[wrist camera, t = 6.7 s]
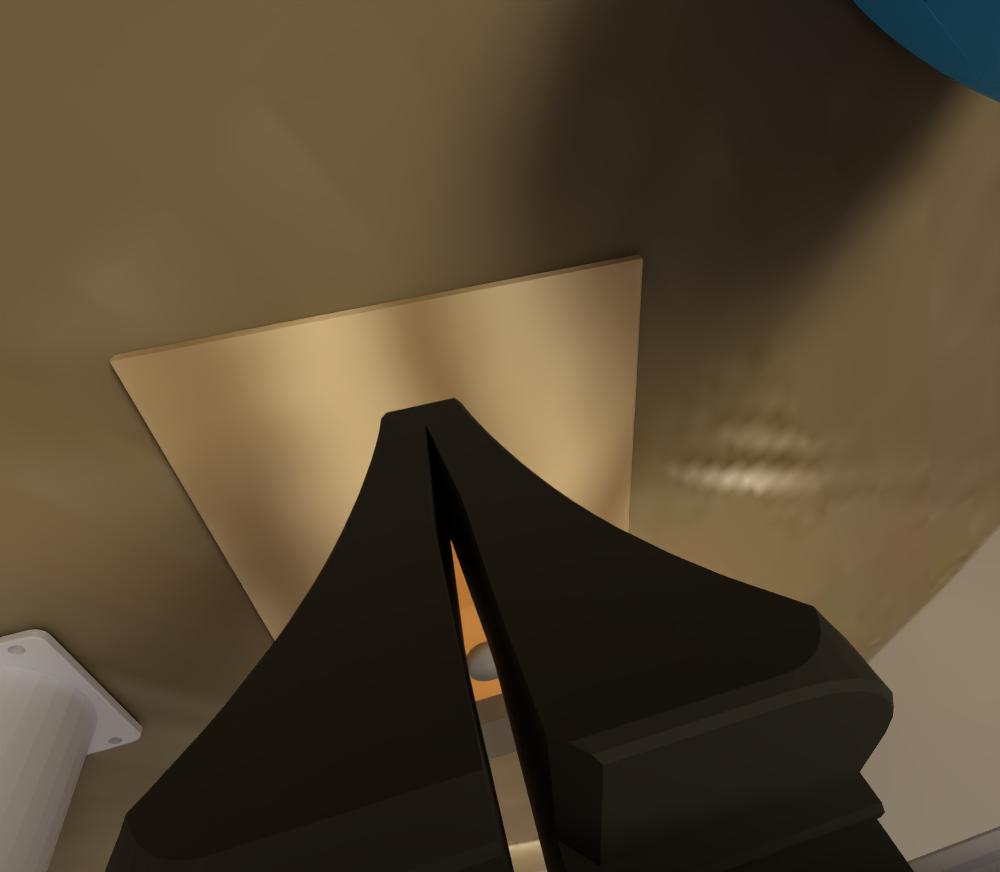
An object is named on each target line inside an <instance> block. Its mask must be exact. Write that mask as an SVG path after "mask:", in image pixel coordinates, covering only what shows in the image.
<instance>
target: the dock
mask: <svg viewBox="0 0 1000 872" xmlns="http://www.w3.org/2000/svg"><path fill="white" fill-rule="evenodd" d="M642 268H643V258H642V257H640V256H639V255H638V254H637V255H632V256H627V257H622V258H616V259H611V260H606V261H601V262H596V263H590V264H585V265H580V266H575V267H570V268H564V269H559V270H554V271H549V272H544V273H538V274H533V275H528V276H523V277H518V278H512V279H507V280H502V281H497V282H492V283H486V284H481V285H476V286H471V287H466V288H460V289H455V290H450V291H445V292H439V293H434V294H429V295H424V296H419V297H413V298H408V299H403V300H398V301H393V302H387V303H382V304H377V305H372V306H367V307H361V308H356V309H351V310H346V311H341V312H335V313H330V314H325V315H320V316H315V317H309V318H304V319H299V320H294V321H289V322H283V323H278V324H273V325H268V326H263V327H257V328H252V329H247V330H242V331H237V332H231V333H226V334H221V335H216V336H210V337H205V338H200V339H195V340H190V341H184V342H179V343H174V344H169V345H164V346H158V347H153V348H148V349H143V350H138V351H132V352H127V353H122V354H117V355H114V356H113V357H112V359H111V360H110V363H111V365H112V366H113V368H114V370H115V371H116V373H117V375H118V376H119V378H120V380H121V381H122V383H123V385H124V387H125V388H126V390H127V392H128V393H129V395H130V397H131V398H132V400H133V402H134V403H135V405H136V407H137V409H138V410H139V412H140V414H141V415H142V417H143V419H144V420H145V422H146V424H147V425H148V427H149V429H150V431H151V432H152V434H153V436H154V437H155V439H156V441H157V442H158V444H159V446H160V447H161V449H162V451H163V453H164V454H165V456H166V458H167V459H168V461H169V463H170V464H171V466H172V468H173V469H174V471H175V473H176V475H177V476H178V478H179V480H180V481H181V483H182V485H183V486H184V488H185V490H186V491H187V493H188V495H189V497H190V498H191V500H192V502H193V503H194V505H195V507H196V508H197V510H198V512H199V513H200V515H201V517H202V519H203V520H204V522H205V524H206V525H207V527H208V529H209V530H210V532H211V534H212V535H213V537H214V539H215V541H216V542H217V544H218V546H219V547H220V549H221V551H222V552H223V554H224V556H225V557H226V559H227V561H228V563H229V564H230V566H231V568H232V569H233V571H234V573H235V574H236V576H237V578H238V579H239V581H240V583H241V585H242V586H243V588H244V590H245V591H246V593H247V595H248V596H249V598H250V600H251V601H252V603H253V605H254V607H255V608H256V610H257V612H258V613H259V615H260V617H261V618H262V620H263V622H264V623H265V625H266V627H267V629H268V630H269V632H270V634H271V635H272V637H273V639H274V640H276V639H277V637H278V636H279V635H280V633H281V632H282V630H283V629H284V627H285V626H286V625H287V623H288V622H289V620H290V619H291V617H292V616H293V614H294V613H295V611H296V610H297V608H298V607H299V605H300V603H301V602H302V600H303V599H304V597H305V596H306V594H307V593H308V591H309V590H310V588H311V587H312V585H313V583H314V582H315V580H316V578H317V577H318V575H319V573H320V571H321V570H322V568H323V566H324V564H325V563H326V561H327V559H328V557H329V556H330V554H331V552H332V550H333V548H334V546H335V544H336V542H337V540H338V538H339V537H340V535H341V533H342V530H343V528H344V526H345V524H346V522H347V519H348V517H349V515H350V513H351V511H352V508H353V506H354V504H355V502H356V500H357V497H358V495H359V492H360V490H361V487H362V484H363V482H364V479H365V476H366V473H367V471H368V468H369V465H370V462H371V459H372V456H373V453H374V449H375V446H376V442H377V438H378V434H379V429H380V422H381V419H382V417H383V416H384V415H385V413H387V412H391V411H396V410H401V409H405V408H410V407H414V406H419V405H423V404H428V403H433V402H437V401H442V400H446V399H451V398H455V399H457V400H459V401H460V402H461V403H462V404H463V405H464V407H465V408H466V409H467V410H468V411H469V413H470V414H471V415H472V416H473V417H474V418H475V419H476V420H477V421H478V423H479V424H480V425H481V426H482V427H483V428H484V429H485V430H486V431H487V432H488V433H489V434H490V435H491V436H492V437H493V438H495V439H496V440H497V441H498V442H499V443H500V444H501V445H502V446H503V447H504V448H506V449H507V450H508V451H509V452H510V453H511V454H512V455H513V456H515V457H516V458H517V459H518V460H519V461H520V462H522V463H523V464H524V465H525V466H526V467H528V468H529V469H530V470H531V471H533V472H534V473H535V474H537V475H538V476H539V477H540V478H542V479H543V480H544V481H546V482H547V483H548V484H550V485H551V486H552V487H554V488H555V489H557V490H558V491H559V492H561V493H562V494H564V495H565V496H567V497H568V498H570V499H571V500H573V501H574V502H576V503H577V504H579V505H581V506H582V507H584V508H585V509H587V510H588V511H590V512H592V513H593V514H595V515H597V516H598V517H600V518H602V519H604V520H605V521H607V522H609V523H611V524H612V525H614V526H616V527H618V528H620V529H622V530H624V531H626V532H628V525H629V506H630V488H631V470H632V451H633V433H634V415H635V396H636V378H637V360H638V341H639V323H640V305H641V287H642ZM476 706H477V710H478V714H479V719H480V723H481V728H482V732H483V737H484V741H485V746H486V750H487V754H488V759H492V758H496V757H499V756H502V755H505V754H508V753H512V752H515V751H517V749H516V745H515V741H514V738H513V734H512V730H511V726H510V722H509V718H508V714H507V710H506V706H505V702H504V699H503V695H502V694H498V695H495V696H492V697H488V698H485V699H481V700H478V701H476Z"/></svg>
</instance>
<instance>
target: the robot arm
mask: <svg viewBox="0 0 1000 872" xmlns="http://www.w3.org/2000/svg"><path fill="white" fill-rule="evenodd" d="M451 541H452V544H453V547H454V550H455V553H456V555H457V558H458V561H459V564H460V567H461V569H462V572H463V575H464V578H465V581H466V583H467V586H468V589H469V592H470V594H471V597H472V600H473V603H474V606H475V608H476V611H477V614H478V617H479V619H480V622H481V625H482V628H483V631H484V633H485V636H486V639H487V642H488V645H489V648H490V651H491V654H492V658H493V661H494V664H495V667H496V671H497V675H498V679H499V683H500V687H501V691H502V695H503V699H504V702H505V706H506V710H507V714H508V718H509V722H510V726H511V730H512V734H513V738H514V741H515V745H516V749H517V753H518V757H519V761H520V765H521V769H522V773H523V777H524V781H525V785H526V789H527V793H528V797H529V801H530V804H531V808H532V812H533V816H534V820H535V824H536V828H537V832H538V836H539V840H540V844H541V848H542V852H543V856H544V860H545V864H546V868H547V872H1000V826H999V827H997V828H994V829H992V830H989V831H986V832H984V833H981V834H978V835H976V836H973V837H971V838H968V839H966V840H963V841H960V842H957V843H955V844H952V845H950V846H947V847H944V848H942V849H939V850H937V851H934V852H931V853H929V854H926V855H923V856H921V857H918V858H915V859H913V860H910V861H908V862H907V861H906V860H905V858H904V857H903V855H902V854H901V852H900V851H899V850H898V848H897V847H896V845H895V844H894V842H893V841H892V840H891V838H890V837H889V835H888V834H887V833H886V831H885V830H884V829H883V827H882V826H881V824H880V823H879V821H878V820H877V818H880V817H881V816H882V815H883V814H884V812H885V811H884V808H883V805H882V802H881V801H880V800H879V798H878V797H877V796H876V794H875V793H874V791H873V790H872V789H871V787H870V786H869V784H868V783H867V782H866V780H865V779H864V778H863V776H862V775H861V773H860V771H861V769H862V768H863V766H864V764H865V763H866V761H867V760H868V758H869V757H870V755H871V754H872V752H873V751H874V749H875V748H876V746H877V745H878V743H879V742H880V740H881V739H882V737H883V736H884V734H885V732H886V730H887V728H888V726H889V724H890V722H891V719H892V717H893V708H894V706H893V694H892V692H891V691H890V689H889V688H888V687H887V686H886V685H885V683H884V682H883V681H882V680H881V679H880V678H879V677H878V675H877V674H876V673H875V672H874V671H873V670H872V669H871V667H870V666H869V665H868V664H867V663H866V661H865V660H864V659H863V658H862V656H861V655H860V654H859V653H858V652H857V651H856V650H855V648H854V647H853V646H852V645H851V644H850V643H849V642H848V640H847V639H846V638H845V637H844V636H843V635H842V634H841V633H840V632H839V631H838V630H837V629H835V628H834V627H833V626H832V625H831V624H830V623H829V622H828V621H827V620H826V619H825V618H824V617H823V616H822V615H821V614H820V613H819V612H818V611H817V609H816V608H815V607H813V606H811V605H808V604H805V603H802V602H799V601H796V600H793V599H790V598H787V597H784V596H781V595H778V594H775V593H773V592H770V591H767V590H764V589H761V588H758V587H755V586H752V585H749V584H746V583H743V582H740V581H737V580H734V579H731V578H729V577H726V576H724V575H721V574H718V573H716V572H713V571H711V570H709V569H706V568H704V567H701V566H699V565H696V564H694V563H692V562H689V561H687V560H684V559H682V558H680V557H677V556H675V555H673V554H671V553H668V552H666V551H664V550H662V549H660V548H658V547H656V546H654V545H652V544H650V543H648V542H646V541H644V540H642V539H640V538H638V537H636V536H634V535H632V534H630V533H628V532H626V531H624V530H622V529H620V528H618V527H616V526H614V525H612V524H611V523H609V522H607V521H605V520H604V519H602V518H600V517H598V516H597V515H595V514H593V513H592V512H590V511H588V510H587V509H585V508H584V507H582V506H581V505H579V504H577V503H576V502H574V501H573V500H571V499H570V498H568V497H567V496H565V495H564V494H562V493H561V492H559V491H558V490H557V489H555V488H554V487H552V486H551V485H550V484H548V483H547V482H546V481H544V480H543V479H542V478H540V477H539V476H538V475H537V474H535V473H534V472H533V471H531V470H530V469H529V468H528V467H526V466H525V465H524V464H523V463H522V462H520V461H519V460H518V459H517V458H516V457H515V456H513V455H512V454H511V453H510V452H509V451H508V450H507V449H506V448H504V447H503V446H502V445H501V444H500V443H499V442H498V441H497V440H496V439H495V438H493V437H492V436H491V435H490V434H489V433H488V432H487V431H486V430H485V429H484V428H483V427H482V426H481V425H480V424H479V423H478V421H477V420H476V419H475V418H474V417H473V416H472V415H471V414H470V413H469V411H468V410H467V409H466V408H465V407H464V405H463V404H462V403H461V402H460V401H459V400H457V399H455V398H451V399H446V400H442V401H437V402H433V403H428V404H423V405H419V406H414V407H410V408H405V409H401V410H396V411H391V412H387V413H385V415H384V416H383V417H382V419H381V422H380V429H379V434H378V438H377V442H376V446H375V449H374V453H373V456H372V459H371V462H370V465H369V468H368V471H367V473H366V476H365V479H364V482H363V484H362V487H361V490H360V492H359V495H358V497H357V500H356V502H355V504H354V506H353V508H352V511H351V513H350V515H349V517H348V519H347V522H346V524H345V526H344V528H343V530H342V533H341V535H340V537H339V538H338V540H337V542H336V544H335V546H334V548H333V550H332V552H331V554H330V556H329V557H328V559H327V561H326V563H325V564H324V566H323V568H322V570H321V571H320V573H319V575H318V577H317V578H316V580H315V582H314V583H313V585H312V587H311V588H310V590H309V591H308V593H307V594H306V596H305V597H304V599H303V600H302V602H301V603H300V605H299V607H298V608H297V610H296V611H295V613H294V614H293V616H292V617H291V619H290V620H289V622H288V623H287V625H286V626H285V627H284V629H283V630H282V632H281V633H280V635H279V636H278V637H277V639H276V640H275V642H274V643H273V644H272V646H271V647H270V648H269V650H268V651H267V652H266V653H265V655H264V656H263V657H262V659H261V660H260V661H259V662H258V664H257V665H256V666H255V668H254V669H253V670H252V671H251V673H250V674H249V675H248V676H247V678H246V679H245V680H244V682H243V683H242V684H241V685H240V687H239V688H238V689H237V691H236V692H235V693H234V694H233V696H232V697H231V698H230V699H229V701H228V702H227V703H226V705H225V706H224V707H223V708H222V709H221V711H220V712H219V713H218V714H217V715H216V716H215V718H214V719H213V720H212V721H211V722H210V724H209V725H208V726H207V727H206V728H205V729H204V730H203V731H202V733H201V734H200V735H199V736H198V737H197V738H196V739H195V740H194V741H193V742H192V743H191V745H190V746H189V747H188V748H187V749H186V750H185V751H184V752H183V753H182V754H181V756H180V757H179V758H178V759H177V760H176V761H175V762H174V763H173V764H172V765H171V766H170V768H169V769H168V770H167V771H166V772H165V773H164V774H163V775H162V776H161V777H160V779H159V780H158V781H157V782H156V783H155V784H154V785H153V786H152V787H151V788H150V789H149V791H148V792H147V793H146V794H145V795H144V796H143V797H142V798H141V799H140V800H139V801H138V802H137V803H136V804H135V805H134V806H133V807H132V808H131V809H130V810H129V811H128V812H127V814H126V816H125V819H124V822H123V825H122V828H121V831H120V834H119V837H118V839H117V842H116V845H115V847H114V850H113V852H112V855H111V857H110V860H109V862H108V865H107V867H106V870H105V872H514V870H513V865H512V861H511V856H510V852H509V847H508V843H507V839H506V834H505V830H504V825H503V821H502V817H501V812H500V808H499V803H498V799H497V794H496V790H495V786H494V781H493V777H492V772H491V768H490V763H489V759H488V754H487V750H486V746H485V741H484V737H483V732H482V728H481V723H480V719H479V714H478V710H477V706H476V701H475V697H474V692H473V688H472V683H471V679H470V674H469V669H468V663H467V657H466V652H465V645H464V637H463V630H462V622H461V614H460V607H459V599H458V592H457V584H456V576H455V569H454V561H453V554H452V546H451ZM142 729H143V728H142V726H141V725H140V724H139V723H138V722H137V721H136V720H135V719H134V718H133V717H132V716H131V715H130V714H129V713H128V712H127V711H126V710H125V709H124V708H123V707H122V706H121V705H120V704H119V703H118V702H117V701H116V700H115V699H114V698H113V697H112V696H111V695H110V694H109V693H108V692H107V691H106V690H105V689H104V688H103V687H102V686H101V685H100V684H99V683H98V682H97V681H96V680H95V679H94V678H93V677H92V676H91V675H90V674H89V673H88V672H87V671H86V670H85V669H84V668H83V667H82V666H81V665H80V664H79V663H78V662H77V661H76V660H75V659H74V658H73V657H72V656H71V655H70V654H69V653H68V652H67V651H66V650H65V649H64V648H63V647H62V646H61V645H60V644H59V643H58V642H57V641H56V640H55V639H54V638H53V637H52V636H51V635H50V634H49V633H47V632H46V631H43V630H38V629H32V630H27V631H23V632H19V633H15V634H11V635H7V636H3V637H0V872H47V870H48V867H49V864H50V861H51V858H52V855H53V852H54V849H55V846H56V843H57V841H58V838H59V835H60V832H61V829H62V826H63V823H64V820H65V817H66V814H67V811H68V808H69V805H70V802H71V799H72V796H73V793H74V790H75V787H76V784H77V781H78V778H79V776H80V773H81V770H82V767H83V764H84V761H85V758H86V755H88V754H92V753H96V752H99V751H103V750H106V749H110V748H113V747H117V746H120V745H124V744H127V743H131V742H134V741H136V740H138V739H139V738H140V736H141V733H142Z"/></svg>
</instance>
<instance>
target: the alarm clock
mask: <svg viewBox="0 0 1000 872" xmlns="http://www.w3.org/2000/svg"><path fill="white" fill-rule="evenodd" d="M853 1H854V3H855V4H856V5H857V6H858V7H859V8H860V9H861V10H862V11H863V12H864V13H865V14H866V15H867V16H868V17H869V18H870V19H871V20H872V21H873V22H874V23H876V24H877V25H878V26H879V27H880V28H881V29H882V30H883V31H884V32H886V33H887V34H888V35H889V36H890V37H892V38H893V39H894V40H895V41H897V42H898V43H899V44H900V45H902V46H903V47H904V48H906V49H907V50H909V51H910V52H911V53H913V54H914V55H916V56H917V57H918V58H920V59H921V60H923V61H924V62H926V63H928V64H929V65H931V66H932V67H934V68H935V69H937V70H938V71H940V72H942V73H944V74H945V75H947V76H949V77H951V78H952V79H954V80H956V81H957V82H959V83H961V84H963V85H965V86H967V87H969V88H971V89H973V90H975V91H977V92H979V93H981V94H983V95H985V96H987V97H989V98H992V99H994V100H996V101H998V102H1000V0H853Z"/></svg>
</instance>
